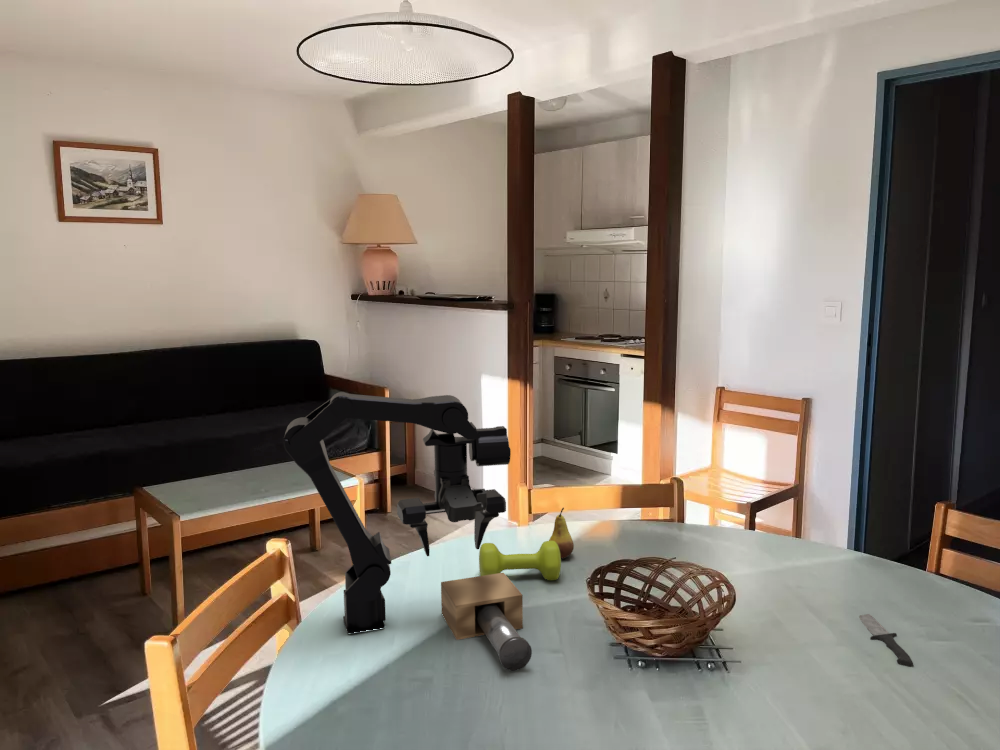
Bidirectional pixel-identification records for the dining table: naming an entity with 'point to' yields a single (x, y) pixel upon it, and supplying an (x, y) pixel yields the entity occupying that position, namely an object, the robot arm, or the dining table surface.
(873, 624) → the knife
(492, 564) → the dumbbell
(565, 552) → the fruit
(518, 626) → the housing
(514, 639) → the dark grey metal cylinder
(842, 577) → the dining table surface
